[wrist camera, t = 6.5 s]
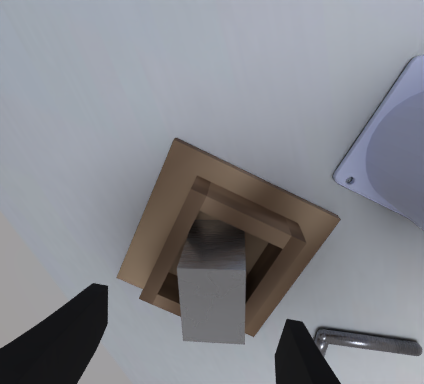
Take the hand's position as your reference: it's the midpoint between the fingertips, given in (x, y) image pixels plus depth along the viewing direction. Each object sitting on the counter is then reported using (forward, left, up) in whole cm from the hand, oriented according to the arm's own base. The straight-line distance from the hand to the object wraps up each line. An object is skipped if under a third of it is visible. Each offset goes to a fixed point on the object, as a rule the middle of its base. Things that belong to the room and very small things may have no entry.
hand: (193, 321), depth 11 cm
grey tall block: (-1, +2, -9) cm, 9 cm away
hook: (-16, +5, -9) cm, 19 cm away
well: (-1, +2, -9) cm, 10 cm away
